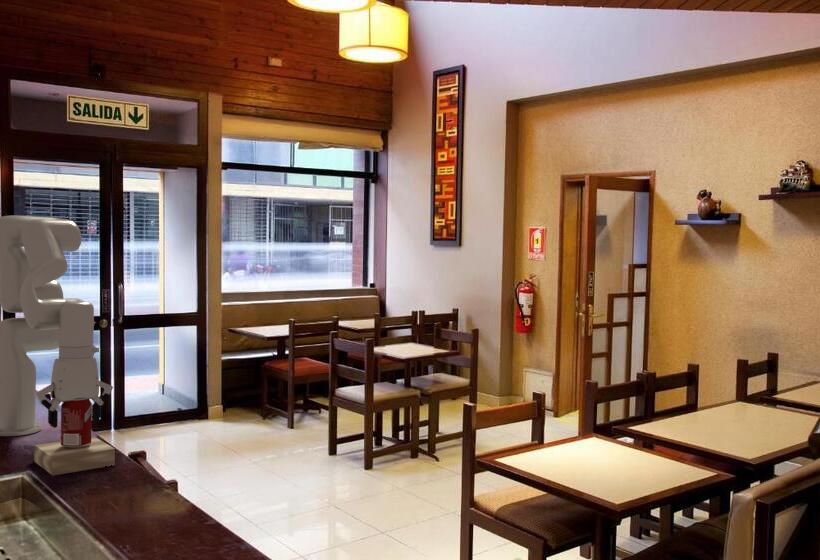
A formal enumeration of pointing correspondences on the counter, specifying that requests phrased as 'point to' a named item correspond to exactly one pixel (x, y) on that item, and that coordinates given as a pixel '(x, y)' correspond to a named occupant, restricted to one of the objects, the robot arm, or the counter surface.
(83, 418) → the soda can
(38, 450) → the birch block
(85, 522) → the counter surface
